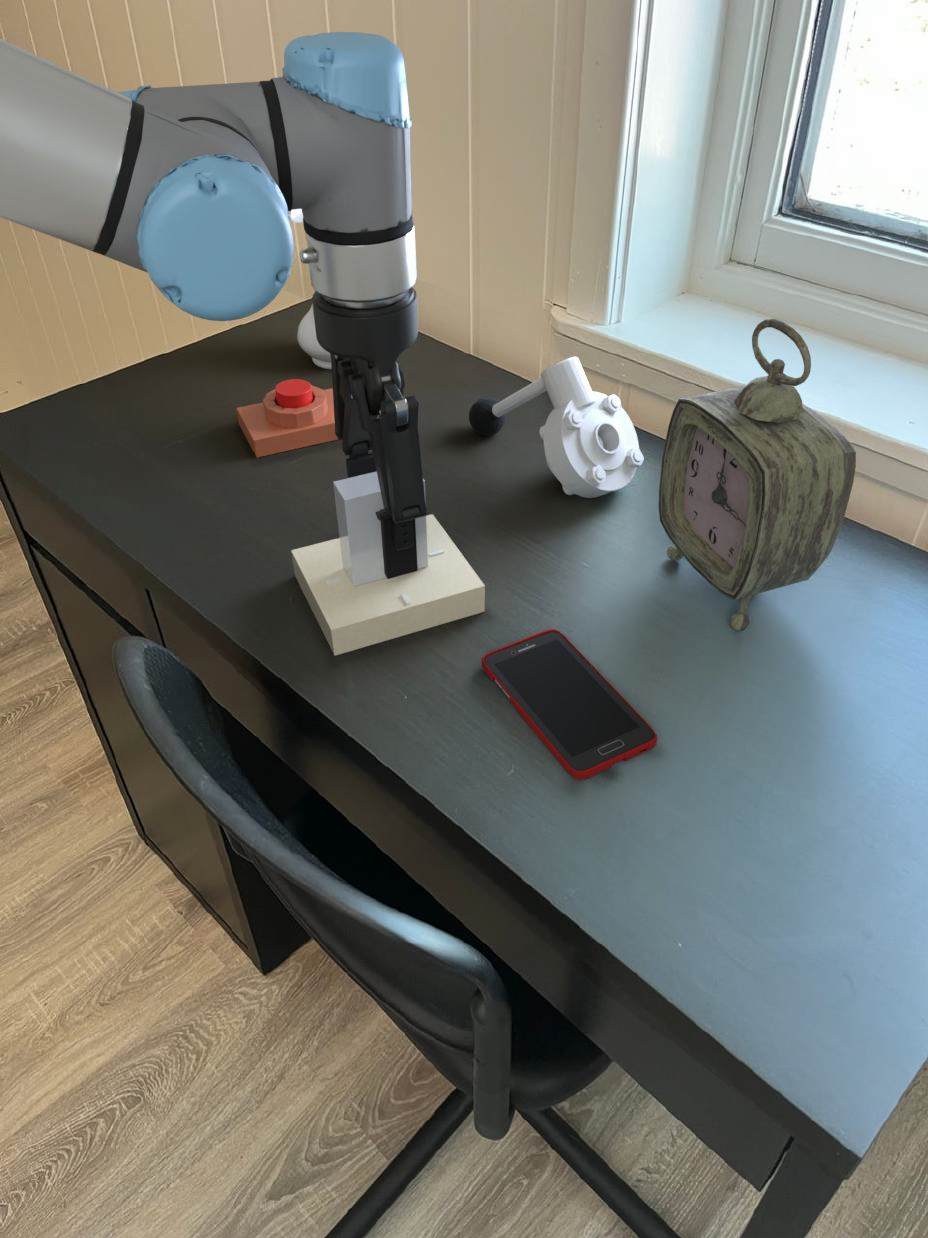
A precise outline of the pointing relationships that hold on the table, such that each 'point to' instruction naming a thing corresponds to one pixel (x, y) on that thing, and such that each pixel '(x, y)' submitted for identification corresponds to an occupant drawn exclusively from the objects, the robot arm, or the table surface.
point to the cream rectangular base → (387, 593)
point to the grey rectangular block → (367, 529)
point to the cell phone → (568, 703)
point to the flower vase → (310, 324)
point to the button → (294, 393)
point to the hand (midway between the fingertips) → (383, 545)
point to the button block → (288, 423)
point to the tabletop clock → (754, 482)
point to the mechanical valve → (574, 430)
